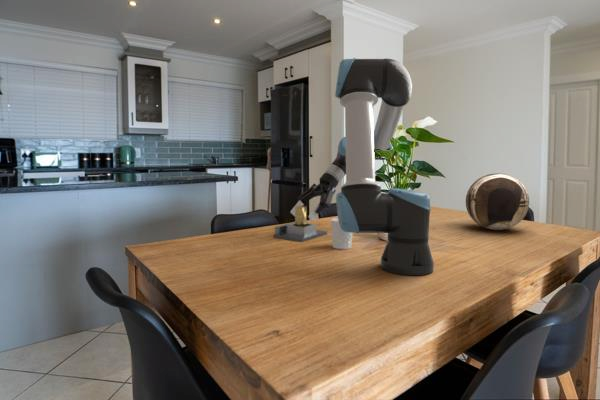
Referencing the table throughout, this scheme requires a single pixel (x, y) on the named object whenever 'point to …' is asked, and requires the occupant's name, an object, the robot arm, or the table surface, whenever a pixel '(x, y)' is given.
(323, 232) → the jig
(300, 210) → the bushing
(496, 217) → the sphere
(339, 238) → the white cup
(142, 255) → the table surface
